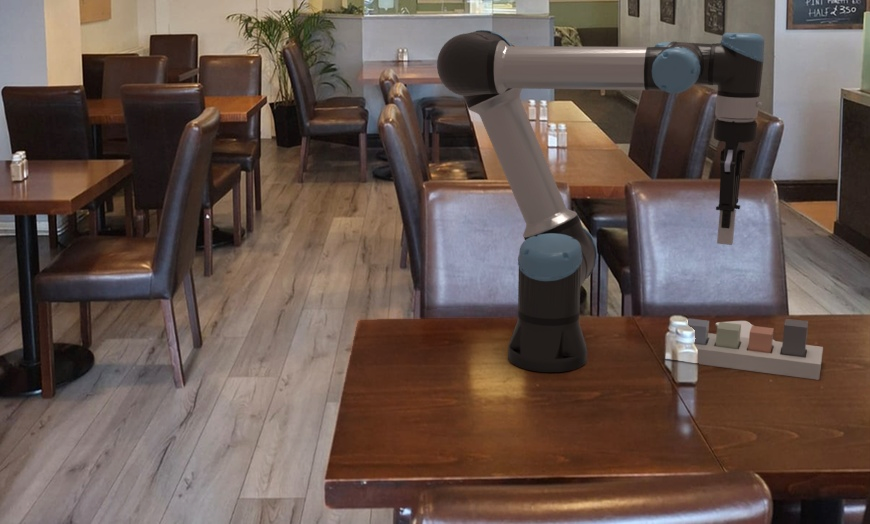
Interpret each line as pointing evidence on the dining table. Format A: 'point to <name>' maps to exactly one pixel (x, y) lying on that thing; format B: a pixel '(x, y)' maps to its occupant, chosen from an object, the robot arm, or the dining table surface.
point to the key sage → (728, 335)
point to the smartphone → (742, 327)
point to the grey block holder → (761, 359)
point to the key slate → (700, 330)
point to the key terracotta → (761, 339)
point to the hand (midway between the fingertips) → (724, 243)
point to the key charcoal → (794, 337)
